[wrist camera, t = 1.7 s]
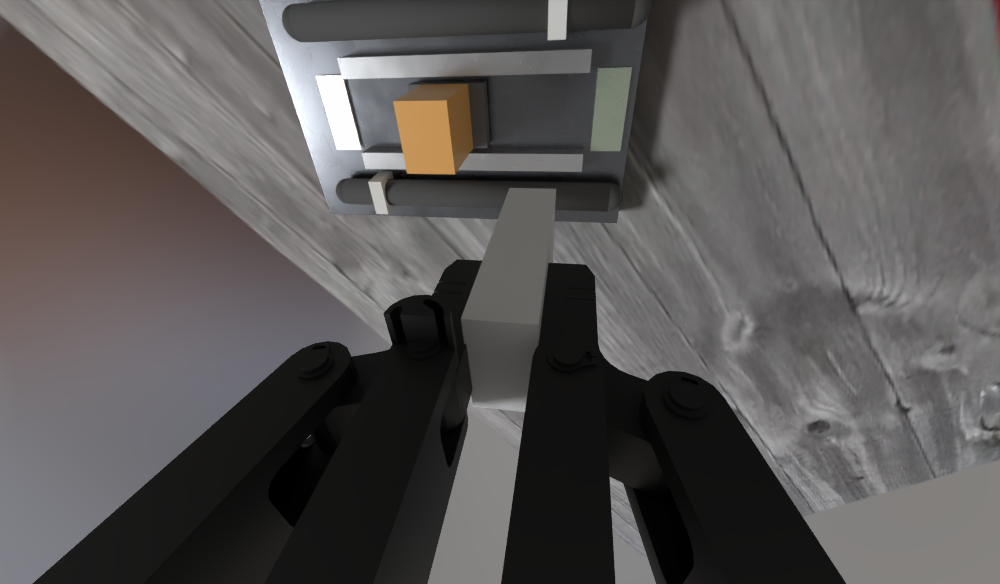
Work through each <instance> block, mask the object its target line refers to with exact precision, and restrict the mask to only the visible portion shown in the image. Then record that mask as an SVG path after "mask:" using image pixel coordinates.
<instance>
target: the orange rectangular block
mask: <svg viewBox="0 0 1000 584" xmlns="http://www.w3.org/2000/svg"><path fill="white" fill-rule="evenodd" d="M408 90H409V92H408V93H407V94H405V95H403V96H401V97H400V98H398V99H396V100H394V101H393V104H394V109H395V114H396V119H397V124H398V130H399V135H400V140H401V145H402V150H403V155H404V161H405V166H406V171H407V174H456V172H457V171H458V169H459V168H460V167H461V165H462V164H463V162H464V161H465V159H466V158H467V157H468V155H469V154H470V152H471V151H472V149H473V148H488V147H489V145H490V132H489V116H488V99H487V82H486V80H478V81H436V82H412V83H410V84H408Z"/></svg>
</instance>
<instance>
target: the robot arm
mask: <svg viewBox="0 0 1000 584" xmlns="http://www.w3.org/2000/svg"><path fill="white" fill-rule="evenodd" d="M555 201H556V189H540V188H509V191H508V193H507V196H506V199H505V201H504V204H503V207H502V209H501V212H500V215H499V218H498V220H497V223H496V226H495V228H494V231H493V234H492V236H491V239H490V242H489V244H488V247H487V250H486V253H485V255H484V258H483V261H477V260H458V259H457V260H456V261H455V262H453V263H452V264H451V265H450V266H448V267H447V268H446V269H445V270H444V272H443V274H442V276H441V278H440V280H439V283H438V284H437V286H436V288H435V290H434V293H433V294H432V296H431V295H414V296H411V297H407V298H404V299H401V300H399V301H398V302H396V303H394V304H392V305H391V306H390V307H389V308H388V309H387V310H386V311H385V312H384V313H383V314H384V317H385V320H386V324H387V327H388V331H389V334H390V337H391V341H392V346H391V348H390V349H389V350H386V351H382V352H377V353H372V354H365V355H360V356H353V357H351V355H350V353H349V351H348V348H347V347H345V346H344V345H342V344H340V343H337V342H329V341H327V342H321V343H315V344H312V345H310V346H307V347H305V348H302V349H301V350H299V351H298V352H296V353H295V354H294V355H292V356H291V357H290V358H288V359H287V360H286V361H285V362H284V363H283V364H282V365H280V366H279V367H278V368H277V369H276V370H275V371H274V372H273V373H271V374H270V375H269V376H268V377H267V378H266V379H265V380H263V381H262V382H261V383H260V384H259V385H258V386H257V387H256V388H254V389H253V390H252V391H251V392H250V393H249V394H248V395H247V396H245V397H244V398H243V399H242V400H241V401H240V402H238V403H237V404H236V405H235V406H234V407H233V408H232V409H231V410H229V411H228V412H227V413H226V414H225V415H224V416H223V417H221V418H220V419H219V420H218V421H217V422H216V423H215V424H213V425H212V426H211V427H210V428H209V429H208V430H207V431H205V432H204V433H203V434H202V435H201V436H200V437H199V438H198V439H196V440H195V441H194V442H193V443H192V444H191V445H190V446H188V447H187V448H186V449H185V450H184V451H183V452H182V453H181V454H179V455H178V456H177V457H176V458H175V459H174V460H173V461H171V462H170V463H169V464H168V465H167V466H166V467H165V468H163V469H162V470H161V471H160V472H159V473H158V474H157V475H155V476H154V477H153V478H152V479H151V480H150V481H149V482H148V483H146V484H145V485H144V486H143V487H142V488H141V489H140V490H138V491H137V492H136V493H135V494H134V495H133V496H132V497H131V498H129V499H128V500H127V501H126V502H125V503H124V504H123V505H121V507H119V508H118V509H117V510H116V511H115V512H113V513H112V514H111V515H110V516H109V517H108V518H107V519H105V520H104V521H103V522H102V523H101V524H100V525H99V526H98V527H96V528H95V529H94V530H93V531H92V532H91V533H90V534H88V535H87V536H86V537H85V538H84V539H83V540H82V541H80V542H79V543H78V544H77V545H76V546H75V547H74V548H73V549H71V550H70V551H69V552H68V553H67V554H66V555H65V556H63V557H62V558H61V559H60V560H59V561H58V562H57V563H56V564H54V565H53V566H52V567H51V568H50V569H49V570H47V571H46V572H45V573H44V574H43V575H42V576H41V577H40V578H38V579H37V580H36V581H35V582H34V583H33V584H427V583H428V579H429V575H430V571H431V568H432V564H433V560H434V556H435V552H436V548H437V544H438V540H439V536H440V533H441V529H442V525H443V521H444V517H445V513H446V509H447V505H448V502H449V498H450V494H451V490H452V486H453V482H454V479H455V475H456V471H457V467H458V463H459V459H460V455H461V451H462V447H463V444H464V440H465V436H466V432H467V428H468V416H467V407H468V403H469V400H470V396H472V403H473V406H476V407H485V408H494V409H502V410H511V411H520V412H525V415H524V422H523V429H522V437H521V444H520V451H519V459H518V466H517V473H516V480H515V487H514V494H513V502H512V509H511V516H510V524H509V531H508V538H507V545H506V552H505V559H504V567H503V574H502V581H501V584H615V569H614V551H613V533H612V515H611V497H610V479H609V476H610V477H612V478H614V479H616V480H618V481H620V482H622V483H623V484H624V487H625V490H626V493H627V496H628V499H629V502H630V505H631V508H632V511H633V514H634V517H635V520H636V523H637V526H638V529H639V533H640V536H641V539H642V542H643V545H644V548H645V551H646V554H647V557H648V560H649V563H650V566H651V569H652V572H653V575H654V578H655V581H656V584H846V583H845V581H844V580H843V578H842V576H841V575H840V574H839V572H838V570H837V569H836V567H835V566H834V564H833V563H832V561H831V560H830V558H829V557H828V555H827V554H826V552H825V551H824V549H823V548H822V546H821V545H820V543H819V542H818V540H817V538H816V537H815V535H814V534H813V532H812V531H811V529H810V528H809V526H808V525H807V523H806V522H805V520H804V519H803V517H802V516H801V514H800V512H799V511H798V509H797V508H796V506H795V505H794V503H793V502H792V500H791V499H790V497H789V496H788V494H787V493H786V491H785V490H784V488H783V487H782V485H781V483H780V482H779V480H778V479H777V477H776V476H775V474H774V473H773V471H772V470H771V468H770V467H769V465H768V464H767V462H766V461H765V459H764V458H763V456H762V455H761V453H760V451H759V450H758V448H757V447H756V445H755V444H754V442H753V441H752V439H751V438H750V436H749V435H748V433H747V432H746V430H745V429H744V427H743V426H742V424H741V423H740V421H739V419H738V418H737V416H736V415H735V413H734V412H733V410H732V409H731V407H730V406H729V404H728V403H727V401H726V400H725V398H724V397H723V396H722V395H721V394H720V392H719V391H718V390H717V389H716V388H715V387H714V386H713V385H711V384H710V383H708V382H707V381H705V380H703V379H702V378H700V377H698V376H695V375H692V374H689V373H686V372H678V371H667V372H663V373H659V374H656V375H655V376H653V377H652V378H651V379H650V380H649V381H647V380H644V379H641V378H638V377H635V376H632V375H629V374H627V373H625V372H623V371H620V370H619V369H617V368H616V367H614V366H613V365H611V364H610V363H609V362H608V361H607V360H606V359H605V358H604V357H603V355H602V353H601V351H600V350H599V345H598V333H597V313H596V293H595V276H594V275H593V273H592V272H591V271H590V269H589V268H588V267H587V265H581V264H561V263H553V247H554V224H555ZM310 435H311V436H310ZM309 436H310V437H309ZM308 437H309V438H308ZM307 438H308V439H307ZM306 439H307V440H306ZM305 440H306V441H305Z"/></svg>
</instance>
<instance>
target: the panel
mask: <svg viewBox="0 0 1000 584" xmlns="http://www.w3.org/2000/svg"><path fill="white" fill-rule="evenodd" d="M259 1H260V4H261V7H262V10H263V13H264V16H265V19H266V22H267V25H268V28H269V31H270V34H271V37H272V40H273V43H274V46H275V49H276V52H277V55H278V58H279V61H280V64H281V67H282V70H283V73H284V76H285V79H286V82H287V85H288V88H289V91H290V94H291V96H292V99H293V102H294V105H295V108H296V111H297V114H298V117H299V120H300V123H301V126H302V129H303V132H304V135H305V138H306V141H307V144H308V147H309V150H310V153H311V156H312V159H313V162H314V165H315V168H316V171H317V174H318V177H319V180H320V183H321V186H322V189H323V192H324V195H325V198H326V201H327V204H328V207H329V210H330V213H331V214H361V215H391V216H421V217H451V218H481V219H498V218H499V215H500V212H501V209H499V208H464V207H430V206H395V207H394V209H393V210H392V211H391V212H390V213H389V214H376V211H375V207H374V205H361V204H346V203H344V202H342V201H341V200H340V199H339V198H338V197H337V195H336V186H337V184H338V182H339V181H341V180H342V179H346V178H364V179H372V178H373V177H374V176H375V175H376V174H377V173H379V172H380V171H392V173H393V178H394V179H421V180H477V181H534V182H590V183H613V184H616V185H617V186H618V187H620V189H621V191H622V185H623V178H624V172H625V165H626V158H627V152H628V145H629V138H630V132H631V125H632V119H633V112H634V105H635V99H636V92H637V85H638V79H639V72H640V65H641V59H642V52H643V45H644V39H645V32H646V25H647V19H648V18H647V19H646V20H645V22H643V23H642V24H641V25H639V26H638V27H635V28H631V29H610V30H587V31H567V37H566V39H565V40H548V32H539V33H516V34H492V35H469V36H445V37H422V38H398V39H375V40H351V41H328V42H299V41H296V40H295V39H293V38H292V37H291V36H290V35H289V34H288V33H287V32H286V30H285V29H284V26H283V23H282V13H283V11H284V9H285V8H286V7H287V6H288V5H290V4H295V3H312V2H328V1H345V0H259ZM478 80H486V82H487V99H488V116H489V132H490V145H489V147H488V148H473V149H472V151H471V152H470V154H469V155H468V157H467V158H466V159H465V161H464V162H463V164H462V165H461V167H460V168H459V169H458V171H457V172H456V174H407V171H406V166H405V161H404V155H403V150H402V145H401V140H400V135H399V130H398V124H397V119H396V114H395V109H394V104H393V101H394V100H396V99H398V98H400V97H401V96H403V95H405V94H407V93H408V92H409V90H408V84H410V83H412V82H436V81H478ZM618 212H619V207H618V208H616V209H615V210H613V211H609V212H602V211H568V210H555V221H571V222H601V223H617V218H618Z"/></svg>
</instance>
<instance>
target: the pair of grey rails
mask: <svg viewBox="0 0 1000 584" xmlns="http://www.w3.org/2000/svg"><path fill="white" fill-rule="evenodd" d="M652 4H653V0H345V1H328V2H312V3H295V4H290V5H288V6H287V7H286V8H285V9H284V11H283V13H282V23H283V26H284V29H285V30H286V32H287V33H288V34H289V35H290V36H291V37H292V38H293V39H295V40H296V41H299V42H328V41H351V40H375V39H398V38H422V37H445V36H469V35H492V34H516V33H539V32H548V40H565V39H566V37H567V31H587V30H610V29H631V28H635V27H638V26H639V25H641V24H642V23H643V22H645V20H646V19H647V18H648V16H649V14H650V12H651V9H652ZM509 188H540V189H556V201H555V210H568V211H602V212H609V211H613V210H615V209H616V208H618V207H619V206H620V204H621V202H622V199H623V194H622V191H621V189H620V187H618V186H617V185H616V184H613V183H590V182H534V181H477V180H421V179H394V178H393V173H392V171H380V172H379V173H377V174H376V175H375V176H374V177H373V178H372V179H364V178H346V179H342V180H341V181H339V182H338V184H337V186H336V195H337V197H338V198H339V199H340V200H341V201H342V202H344V203H346V204H361V205H374V207H375V211H376V214H389V213H390V212H391V211H392V210H393V209H394V207H395V206H430V207H464V208H499V209H502V207H503V204H504V201H505V199H506V196H507V193H508V191H509Z"/></svg>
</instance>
